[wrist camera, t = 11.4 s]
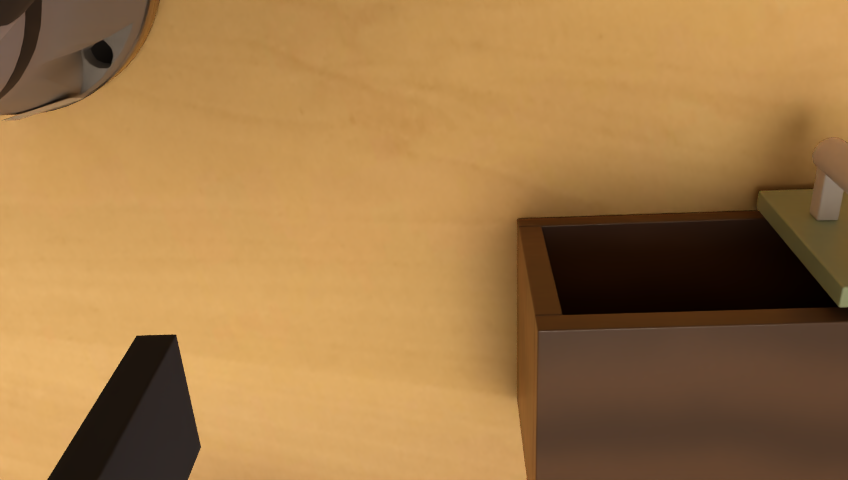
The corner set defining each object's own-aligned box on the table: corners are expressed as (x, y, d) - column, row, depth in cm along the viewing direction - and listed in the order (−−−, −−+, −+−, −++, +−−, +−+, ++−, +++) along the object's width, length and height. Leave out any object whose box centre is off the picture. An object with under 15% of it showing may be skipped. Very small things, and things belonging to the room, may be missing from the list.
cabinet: (517, 218, 43) (537, 330, 34) (1059, 199, 42) (1246, 310, 32) (517, 399, 49) (534, 542, 39) (998, 388, 47) (1142, 532, 38)
